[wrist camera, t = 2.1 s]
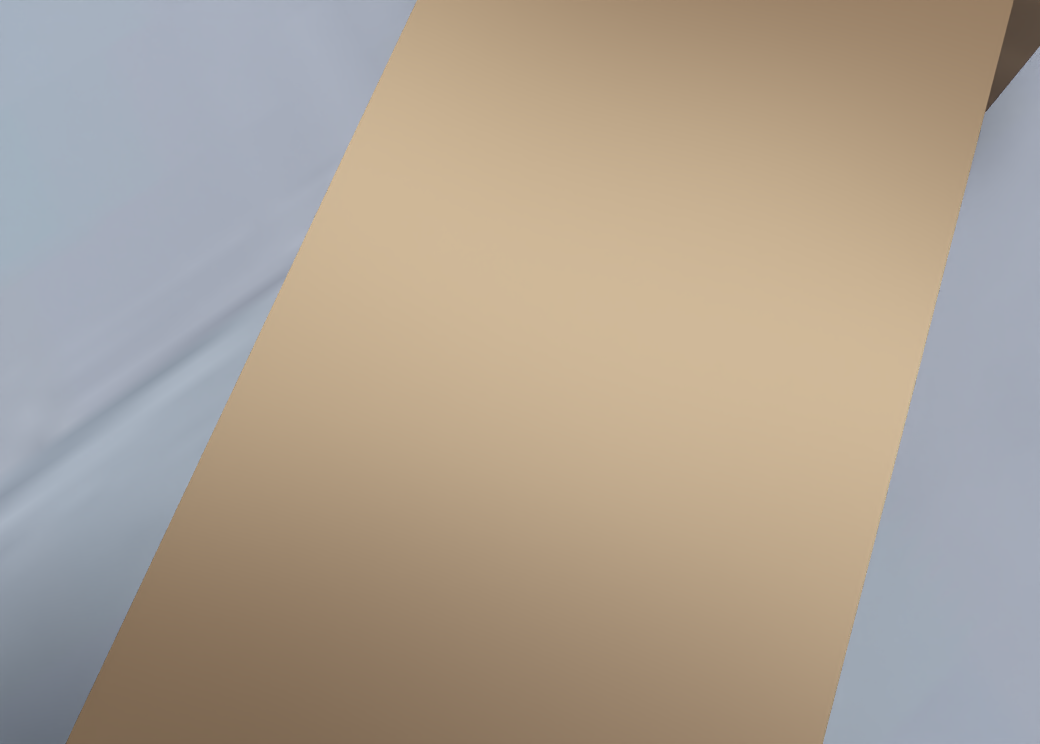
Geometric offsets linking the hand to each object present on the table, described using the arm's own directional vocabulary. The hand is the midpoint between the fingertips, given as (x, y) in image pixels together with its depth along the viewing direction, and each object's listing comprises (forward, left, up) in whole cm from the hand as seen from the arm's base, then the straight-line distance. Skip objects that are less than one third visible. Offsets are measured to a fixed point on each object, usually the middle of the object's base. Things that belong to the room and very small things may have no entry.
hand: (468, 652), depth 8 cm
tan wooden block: (+4, 0, -8) cm, 9 cm away
